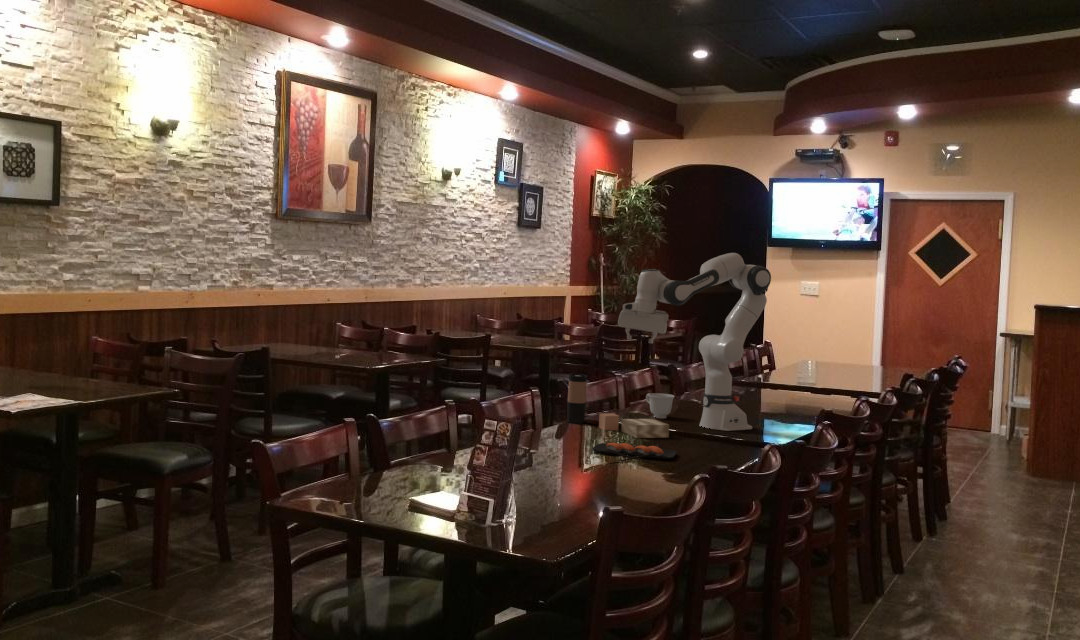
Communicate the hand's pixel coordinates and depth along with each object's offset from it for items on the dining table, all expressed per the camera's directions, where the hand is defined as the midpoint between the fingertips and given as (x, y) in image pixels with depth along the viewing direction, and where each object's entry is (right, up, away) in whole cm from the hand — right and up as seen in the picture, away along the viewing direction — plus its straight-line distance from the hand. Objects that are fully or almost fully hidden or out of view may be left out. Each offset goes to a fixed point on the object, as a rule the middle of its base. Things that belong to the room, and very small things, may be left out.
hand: (639, 341), depth 388 cm
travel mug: (-26, -35, +10) cm, 44 cm away
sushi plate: (-9, -40, -59) cm, 72 cm away
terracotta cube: (-13, -36, -2) cm, 38 cm away
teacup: (+12, -35, +36) cm, 51 cm away
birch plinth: (+1, -37, -11) cm, 38 cm away
